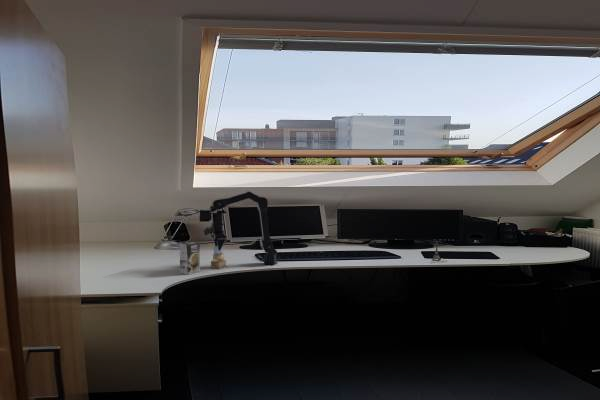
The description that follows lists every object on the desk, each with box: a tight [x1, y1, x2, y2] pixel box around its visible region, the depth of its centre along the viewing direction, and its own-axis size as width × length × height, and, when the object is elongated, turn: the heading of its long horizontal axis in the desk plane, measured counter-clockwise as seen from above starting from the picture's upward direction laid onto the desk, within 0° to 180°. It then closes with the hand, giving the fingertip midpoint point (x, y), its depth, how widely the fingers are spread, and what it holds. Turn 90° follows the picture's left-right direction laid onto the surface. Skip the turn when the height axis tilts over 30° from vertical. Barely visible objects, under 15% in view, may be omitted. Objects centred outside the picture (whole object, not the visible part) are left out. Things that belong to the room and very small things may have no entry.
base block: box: [210, 259, 227, 270], centre depth 247 cm, size 6×6×4 cm
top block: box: [212, 252, 225, 262], centre depth 247 cm, size 5×5×4 cm
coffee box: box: [179, 240, 201, 275], centre depth 235 cm, size 9×6×16 cm
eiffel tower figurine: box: [429, 241, 448, 264], centre depth 269 cm, size 15×10×13 cm
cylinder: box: [213, 245, 223, 255], centre depth 247 cm, size 4×4×4 cm
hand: (217, 248), depth 247 cm, fingers open, 9 cm apart
